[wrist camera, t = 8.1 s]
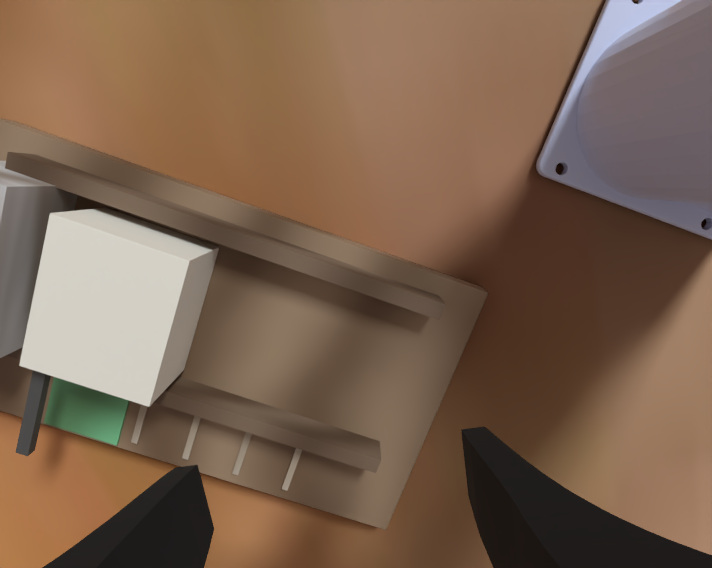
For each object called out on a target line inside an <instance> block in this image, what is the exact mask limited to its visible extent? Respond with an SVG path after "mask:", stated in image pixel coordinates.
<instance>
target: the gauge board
mask: <svg viewBox="0 0 712 568" xmlns="http://www.w3.org/2000/svg"><path fill="white" fill-rule="evenodd" d="M97 208H108V209H111V210H114V211H117V212H119V213H122V214H125V215H128V216H131V217H134V218H137V219H140V220H143V221H145V222H148V223H151V224H154V225H157V226H160V227H163V228H166V229H169V230H171V231H174V232H177V233H180V234H183V235H186V236H189V237H192V238H195V239H198V240H200V241H203V242H206V243H209V244H212V245H215V246H218V247H219V251H218V254H217V258H216V261H215V265H214V268H213V272H212V275H211V278H210V282H209V285H208V289H207V292H206V296H205V299H204V303H203V306H202V309H201V313H200V316H199V320H198V323H197V327H196V330H195V334H194V337H193V341H192V344H191V347H190V351H189V354H188V358H187V361H186V365H185V368H184V370H183V371H182V372H181V374H180V375H179V376H178V377H177V378H176V379H175V380H174V381H173V382H172V383H171V384H170V385H169V386H168V387H167V388H166V390H165V391H164V392H163V393H162V394H161V395H160V396H159V397H158V398H157V399H156V400H155V401H154V402H153V403H152V405H151V406H150V407H148V406H145V405H142V404H138V403H135V402H132V401H129V400H126V399H123V398H119V397H116V396H113V395H110V394H107V393H104V392H101V391H97V390H94V389H91V388H88V387H85V386H82V385H78V384H75V383H72V382H69V381H66V380H63V379H60V378H56V377H53V376H51V378H50V382H49V387H48V392H47V396H46V401H45V405H44V410H43V414H42V419H41V424H44V425H48V426H51V427H54V428H57V429H60V430H64V431H67V432H70V433H73V434H77V435H80V436H83V437H86V438H90V439H93V440H96V441H99V442H103V443H106V444H109V445H112V446H115V447H119V448H122V449H125V450H128V451H132V452H135V453H138V454H141V455H145V456H148V457H151V458H154V459H158V460H161V461H164V462H167V463H170V464H174V465H177V466H180V467H184V466H191V465H198V468H199V472H200V473H203V474H206V475H209V476H212V477H216V478H219V479H222V480H225V481H229V482H232V483H235V484H238V485H242V486H245V487H248V488H251V489H255V490H258V491H261V492H264V493H267V494H271V495H274V496H277V497H280V498H284V499H287V500H290V501H293V502H297V503H300V504H303V505H306V506H310V507H313V508H316V509H319V510H322V511H326V512H329V513H332V514H335V515H339V516H342V517H345V518H348V519H352V520H355V521H358V522H361V523H364V524H368V525H371V526H374V527H377V528H381V529H384V530H386V529H387V526H388V524H389V522H390V519H391V517H392V515H393V512H394V510H395V508H396V505H397V503H398V501H399V499H400V496H401V494H402V492H403V489H404V487H405V485H406V482H407V480H408V478H409V475H410V473H411V471H412V468H413V466H414V464H415V462H416V459H417V457H418V455H419V452H420V450H421V448H422V445H423V443H424V441H425V438H426V436H427V434H428V432H429V429H430V427H431V425H432V422H433V420H434V418H435V415H436V413H437V411H438V408H439V406H440V404H441V402H442V399H443V397H444V395H445V392H446V390H447V388H448V385H449V383H450V381H451V378H452V376H453V374H454V371H455V369H456V367H457V365H458V362H459V360H460V358H461V355H462V353H463V351H464V348H465V346H466V344H467V341H468V339H469V337H470V335H471V332H472V330H473V328H474V325H475V323H476V321H477V318H478V316H479V314H480V311H481V309H482V307H483V304H484V302H485V300H486V298H487V295H488V292H487V291H486V290H484V289H483V288H482V287H480V286H478V285H475V284H472V283H469V282H466V281H464V280H461V279H458V278H455V277H452V276H449V275H447V274H444V273H441V272H438V271H435V270H433V269H430V268H427V267H424V266H421V265H418V264H416V263H413V262H410V261H407V260H404V259H401V258H399V257H396V256H393V255H390V254H387V253H385V252H382V251H379V250H376V249H373V248H370V247H368V246H365V245H362V244H359V243H356V242H353V241H351V240H348V239H345V238H342V237H339V236H337V235H334V234H331V233H328V232H325V231H322V230H320V229H317V228H314V227H311V226H308V225H305V224H303V223H300V222H297V221H294V220H291V219H289V218H286V217H283V216H280V215H277V214H274V213H272V212H269V211H266V210H263V209H260V208H258V207H255V206H252V205H249V204H246V203H243V202H241V201H238V200H235V199H232V198H229V197H226V196H224V195H221V194H218V193H215V192H212V191H210V190H207V189H204V188H201V187H198V186H195V185H193V184H190V183H187V182H184V181H181V180H178V179H176V178H173V177H170V176H167V175H164V174H162V173H159V172H156V171H153V170H150V169H147V168H145V167H142V166H139V165H136V164H133V163H130V162H128V161H125V160H122V159H119V158H116V157H114V156H111V155H108V154H105V153H102V152H99V151H97V150H94V149H91V148H88V147H85V146H83V145H80V144H77V143H74V142H71V141H68V140H66V139H63V138H60V137H57V136H54V135H51V134H49V133H46V132H43V131H40V130H37V129H35V128H32V127H29V126H26V125H23V124H20V123H18V122H15V121H11V120H6V119H0V411H2V412H6V413H9V414H12V415H15V416H18V417H22V418H23V415H24V410H25V406H26V401H27V396H28V391H29V387H30V382H31V377H32V372H33V370H31V369H28V368H25V367H22V366H19V364H20V359H21V354H22V349H23V344H24V339H25V334H26V329H27V324H28V319H29V314H30V309H31V304H32V299H33V294H34V290H35V285H36V280H37V275H38V270H39V265H40V260H41V255H42V250H43V245H44V240H45V235H46V230H47V225H48V220H49V215H50V213H56V212H66V211H77V210H87V209H97Z"/></svg>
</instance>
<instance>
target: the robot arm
mask: <svg viewBox="0 0 712 568" xmlns="http://www.w3.org/2000/svg"><path fill="white" fill-rule="evenodd" d="M559 163H561V164H562V165H563V167H564V170H563V172H562V174H560V175H558V174H557V173H556V170H555V169H556V166H557V165H558V164H559ZM536 168H537V171H538V173H539V174H540V175H542V176H543V177H546V178H549V179H551V180H554V181H557V182H559V183H562V184H565V185H567V186H570V187H573V188H575V189H578V190H581V191H583V192H586V193H589V194H591V195H594V196H597V197H599V198H602V199H605V200H607V201H610V202H613V203H615V204H618V205H620V206H623V207H626V208H628V209H631V210H634V211H636V212H639V213H642V214H644V215H647V216H650V217H652V218H655V219H658V220H660V221H663V222H666V223H668V224H671V225H674V226H676V227H679V228H682V229H684V230H687V231H690V232H692V233H695V234H698V235H700V236H703V237H706V238H708V239H711V240H712V0H638V4H634V3H633V2H632V0H606V2H605V4H604V6H603V9H602V11H601V13H600V16H599V18H598V20H597V23H596V25H595V27H594V30H593V32H592V34H591V37H590V39H589V41H588V44H587V46H586V48H585V51H584V53H583V55H582V58H581V60H580V62H579V65H578V67H577V69H576V72H575V74H574V76H573V79H572V81H571V83H570V86H569V88H568V90H567V93H566V95H565V97H564V100H563V102H562V104H561V107H560V109H559V111H558V114H557V116H556V118H555V121H554V123H553V125H552V128H551V130H550V132H549V135H548V137H547V139H546V142H545V144H544V146H543V149H542V151H541V153H540V156H539V158H538V160H537V164H536ZM704 219H706V225H705V227H704V228H702V227H701V222H702V221H703V220H704ZM461 431H462V440H463V449H464V458H465V467H466V476H467V485H468V494H469V499H470V503H471V506H472V510H473V513H474V517H475V520H476V523H477V527H478V530H479V533H480V536H481V538H482V541H483V543H484V546H485V548H486V551H487V553H488V555H489V558H490V560H491V563H492V565H493V567H494V568H712V555H709V554H706V553H703V552H700V551H698V550H695V549H692V548H690V547H687V546H684V545H682V544H679V543H676V542H674V541H671V540H668V539H666V538H664V537H661V536H659V535H656V534H654V533H651V532H649V531H647V530H644V529H642V528H640V527H638V526H636V525H634V524H631V523H629V522H627V521H625V520H623V519H621V518H618V517H616V516H614V515H612V514H610V513H608V512H606V511H604V510H603V509H601V508H599V507H597V506H595V505H594V504H592V503H590V502H588V501H586V500H585V499H583V498H581V497H579V496H577V495H576V494H574V493H572V492H571V491H569V490H567V489H566V488H564V487H563V486H561V485H560V484H558V483H557V482H555V481H554V480H552V479H551V478H549V477H548V476H546V475H545V474H543V473H542V472H541V471H539V470H538V469H536V468H535V467H534V466H532V465H531V464H530V463H528V462H527V461H526V460H525V459H523V458H522V457H521V456H519V455H518V454H517V453H516V452H514V451H513V450H512V449H511V448H510V447H508V446H507V445H506V444H505V443H503V442H502V441H501V440H500V439H499V438H498V437H496V436H495V435H494V434H493V433H492V432H490V431H489V430H488V429H487V428H485V427H478V428H471V429H463V430H461ZM213 531H214V527H213V523H212V519H211V515H210V511H209V507H208V503H207V499H206V496H205V492H204V488H203V484H202V480H201V476H200V472H199V468H198V465H191V466H184V467H176V468H174V469H173V470H171V471H170V472H169V473H167V474H166V475H164V476H163V477H162V478H160V479H159V480H158V481H157V482H155V483H154V484H153V485H152V486H150V487H149V488H148V489H147V490H145V491H144V492H143V493H142V494H140V495H139V496H138V497H137V498H135V499H134V500H133V501H132V502H130V503H129V504H128V505H127V506H125V507H124V508H123V509H122V510H120V511H119V512H118V513H117V514H115V515H114V516H113V517H112V518H110V519H109V520H108V521H106V522H105V523H104V524H103V525H101V526H100V527H99V528H97V529H96V530H95V531H93V532H92V533H91V534H89V535H88V536H87V537H85V538H84V539H83V540H81V541H80V542H79V543H77V544H76V545H75V546H73V547H72V548H70V549H69V550H68V551H66V552H65V553H63V554H62V555H61V556H59V557H58V558H56V559H55V560H53V561H52V562H50V563H49V564H47V565H46V566H44V567H43V568H204V565H205V562H206V558H207V555H208V551H209V547H210V543H211V539H212V535H213Z"/></svg>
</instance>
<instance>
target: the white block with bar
mask: <svg viewBox="0 0 712 568" xmlns="http://www.w3.org/2000/svg"><path fill="white" fill-rule="evenodd" d="M218 251H219V247H218V246H215V245H212V244H209V243H206V242H203V241H200V240H198V239H195V238H192V237H189V236H186V235H183V234H180V233H177V232H174V231H171V230H169V229H166V228H163V227H160V226H157V225H154V224H151V223H148V222H145V221H143V220H140V219H137V218H134V217H131V216H128V215H125V214H122V213H119V212H117V211H114V210H111V209H108V208H97V209H87V210H77V211H66V212H56V213H50V215H49V220H48V225H47V230H46V235H45V240H44V245H43V250H42V255H41V260H40V265H39V270H38V275H37V280H36V285H35V290H34V294H33V299H32V304H31V309H30V314H29V319H28V324H27V329H26V334H25V339H24V344H23V349H22V354H21V359H20V364H19V366H22V367H25V368H28V369H31V370H33V372H32V377H31V382H30V387H29V391H28V396H27V401H26V406H25V410H24V415H23V420H22V425H21V429H20V434H19V439H18V444H17V449H16V453H19V454H23V455H26V456H28V455H30V454H31V453H32V452H33V451H34V450H35V446H36V442H37V437H38V433H39V428H40V423H41V419H42V414H43V410H44V405H45V401H46V396H47V392H48V387H49V382H50V378H51V376H53V377H56V378H60V379H63V380H66V381H69V382H72V383H75V384H78V385H82V386H85V387H88V388H91V389H94V390H97V391H101V392H104V393H107V394H110V395H113V396H116V397H119V398H123V399H126V400H129V401H132V402H135V403H138V404H142V405H145V406H148V407H150V406H151V405H152V403H153V402H154V401H155V400H156V399H157V398H158V397H159V396H160V395H161V394H162V393H163V392H164V391H165V390H166V388H167V387H168V386H169V385H170V384H171V383H172V382H173V381H174V380H175V379H176V378H177V377H178V376H179V375H180V374H181V372H182V371H183V370H184V368H185V365H186V361H187V358H188V354H189V351H190V347H191V344H192V341H193V337H194V334H195V330H196V327H197V323H198V320H199V316H200V313H201V309H202V306H203V303H204V299H205V296H206V292H207V289H208V285H209V282H210V278H211V275H212V272H213V268H214V265H215V261H216V258H217V254H218Z"/></svg>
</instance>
